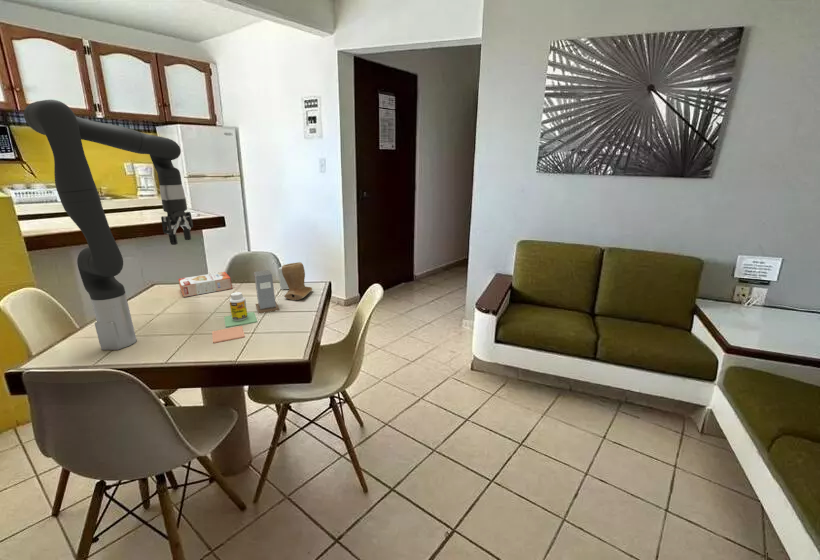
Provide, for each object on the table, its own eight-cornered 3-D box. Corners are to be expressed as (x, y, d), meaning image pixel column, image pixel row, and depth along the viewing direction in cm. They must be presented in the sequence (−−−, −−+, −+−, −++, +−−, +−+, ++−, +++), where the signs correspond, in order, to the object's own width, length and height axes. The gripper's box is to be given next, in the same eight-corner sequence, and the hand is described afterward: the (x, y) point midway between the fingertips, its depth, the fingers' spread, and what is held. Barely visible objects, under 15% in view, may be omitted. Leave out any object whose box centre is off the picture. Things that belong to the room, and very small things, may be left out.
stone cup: (290, 290, 188) (287, 259, 184) (315, 290, 187) (312, 259, 182) (277, 301, 173) (273, 267, 169) (303, 301, 172) (300, 268, 168)
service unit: (279, 310, 163) (274, 274, 159) (258, 313, 160) (253, 277, 155) (275, 303, 171) (271, 269, 166) (255, 306, 167) (251, 271, 163)
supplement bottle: (230, 322, 150) (226, 296, 147) (233, 316, 156) (229, 291, 153) (246, 320, 151) (242, 295, 148) (249, 315, 157) (245, 290, 154)
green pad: (257, 322, 151) (257, 321, 151) (225, 327, 147) (225, 326, 146) (254, 312, 161) (254, 311, 161) (224, 317, 156) (224, 316, 156)
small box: (292, 290, 188) (289, 268, 185) (280, 290, 188) (277, 268, 185) (297, 284, 196) (294, 264, 193) (285, 285, 196) (283, 264, 193)
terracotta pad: (244, 337, 138) (244, 336, 138) (213, 343, 134) (212, 342, 134) (242, 327, 147) (242, 325, 147) (212, 332, 143) (212, 331, 143)
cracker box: (230, 276, 189) (180, 285, 178) (232, 288, 191) (183, 298, 180) (224, 270, 200) (177, 278, 189) (226, 282, 202) (180, 290, 191)
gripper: (175, 196, 151) (183, 238, 156) (149, 199, 137) (159, 246, 142) (194, 196, 150) (201, 238, 155) (170, 199, 137) (179, 246, 141)
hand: (181, 242), depth 149 cm, fingers open, 8 cm apart
